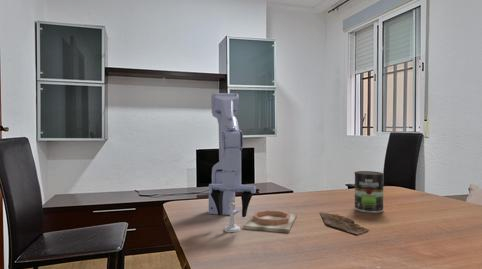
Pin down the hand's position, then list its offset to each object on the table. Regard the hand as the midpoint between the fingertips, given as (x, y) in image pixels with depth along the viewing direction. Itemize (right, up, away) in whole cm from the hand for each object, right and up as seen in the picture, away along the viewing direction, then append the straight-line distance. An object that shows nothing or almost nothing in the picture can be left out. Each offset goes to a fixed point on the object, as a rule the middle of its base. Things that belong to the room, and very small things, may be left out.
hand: (232, 215), depth 96 cm
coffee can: (+51, -4, +24) cm, 57 cm away
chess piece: (0, -5, 0) cm, 5 cm away
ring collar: (+13, -4, +8) cm, 16 cm away
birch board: (+13, -4, +8) cm, 16 cm away
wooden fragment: (+35, -5, +7) cm, 36 cm away
